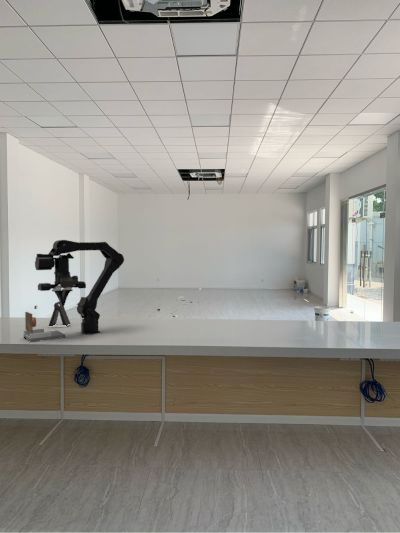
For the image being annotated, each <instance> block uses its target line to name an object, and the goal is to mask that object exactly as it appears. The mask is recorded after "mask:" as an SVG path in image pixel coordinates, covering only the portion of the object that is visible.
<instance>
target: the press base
mask: <svg viewBox="0 0 400 533" xmlns="http://www.w3.org/2000/svg"><path fill="white" fill-rule="evenodd" d="M24 337H25V338H26V339H25V338H24ZM60 337H64V338H66V333H63V332H61V331H59V330H52V331H51V330H50V331H45V328H36V329H35V328H33V333H30V332H29V331H27V330H26V329H25V330H23V338H24V339H25V340H26V341H28V342H29V341H30V342H29V343H34V341H35V342H41V341H40V340H43V341H48V340H47V339H50V340H57V339H61V338H60ZM56 338H57V339H56Z"/></svg>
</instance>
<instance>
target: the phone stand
mask: <svg viewBox="0 0 400 533" xmlns="http://www.w3.org/2000/svg"><path fill="white" fill-rule="evenodd" d="M53 308H54V309H53V311H52V315H51V318H50V320H49V323H48V326H53V325H55V324H56V325H57V322H58V317H59V316H60V319H61V323H62V324H61V325H66V326H67V325H68V324H71V322H70V320H69V316H68V314H67V312H66V308H65V305H64V306H61V304H60V301H59V300H58V301H57V302H55V303H54V305H53Z"/></svg>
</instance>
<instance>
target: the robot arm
mask: <svg viewBox="0 0 400 533" xmlns="http://www.w3.org/2000/svg"><path fill="white" fill-rule="evenodd" d="M78 251H98V252H100V253H101V255H102V256H103V257H104V258H105V261H104V268H103V269H102V271H101V272H100V274H99V276H98V278H97V280H96V281H95V283H94V284H93V286H92V287H91V290H90V292H89V293H88V294H87V296H86V297H84V296H81V297H80V299H79V302H78V303H76V305H77V307H76V311H77V313H78V314H79V315H80V317H81V320H82V321H81V323H80V327H81V328H80V333H82V334H84V335H92V334H98V333H100V332H101V331H100V330H99V320H100V318H101V315H100V313H99V312H97V310H96V309H97V306H98V300H99V298H100V296H101V295H102V293H103V291H104V290H105V287H106V286H107V284H108V282H109V280H110V279H111V277H112V275H113V274H114V273H115V272H116V271H118V269H120V267H121V266H122V265H123V263H124V261H125V257H124V255H123V254H121V253H119V252H118V251H117V250H116V249H115V248H113V247H112V246H111V245H110V244H108V242H106V241H100V242H99V241H98V242H97V241H96V242H94V241H91V242H88V241H87V242H77V241H73V240H67V239H58V240H55V241H54V242H53V244H52V248H51V250H50V251H49V252H48V253H36V257H35V261H34V268H35V270H36V271H51V270H52V269H53V268H54V272H53V275H54V282H53V283H52V284H51V283H49V282H44V283H43V282H42V283H41V282H40V283H38V284H37V290H38V291H40V292H47V291H48V292H49V291H52V292H54V293H55V295H56V297H57V299H58V302H59V301H60V304H61V306H64V307H65V304H66V303H67V302H66V300H67V298H68V296H69V294H70V293H71V292H73V288H77V289H86V288H87V284H86V282H85V281H79V277H78V275H72V276H71V272H70V259H71V260H73V259H74V258H75V257H74V255H72V254H71V253H73V252H78Z"/></svg>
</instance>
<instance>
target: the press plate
mask: <svg viewBox="0 0 400 533" xmlns="http://www.w3.org/2000/svg"><path fill="white" fill-rule="evenodd" d="M24 313H25V314H24V316H25V317H24V319H25V330H27V331H29V332H30V333H33V329H34V328H35V327H37V318H36V317H35V316H33V313H31V312H29V311H25V312H24Z"/></svg>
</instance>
